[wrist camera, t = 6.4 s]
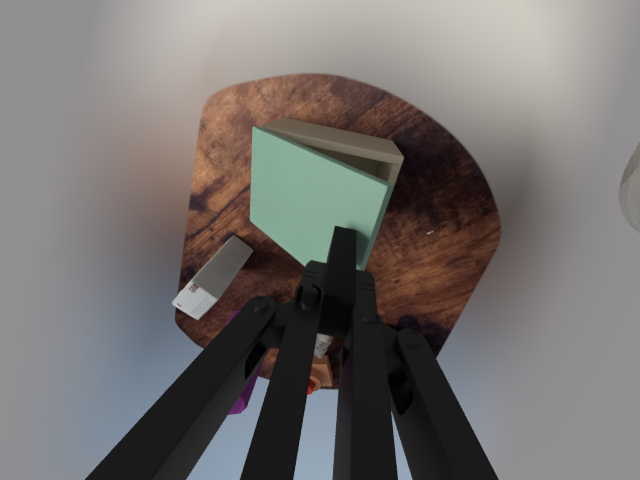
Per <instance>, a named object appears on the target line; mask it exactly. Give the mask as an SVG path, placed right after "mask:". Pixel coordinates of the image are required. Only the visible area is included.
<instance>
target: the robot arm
mask: <svg viewBox="0 0 640 480" xmlns="http://www.w3.org/2000/svg"><path fill="white" fill-rule="evenodd" d="M356 245H357V230H353V229H349V228H344V227H340V226H335V227H334V232H333V236H332V240H331V244H330V248H329V252H328V257H327V262H326V263H324V262H319V261H315V260H310V261H309V262H308V263H307V264H306V266H305V269H304V273H303V276H302V279H301V283H300V284H299V285H298V286H297V288H296V291H295V297H294V299H293V300H291V301H289V302H286V303H275V302H274V300H273V299H271V298H270V297H266V296H257V297H254V298H252V299H250V300H249V301H248V302H247V303H246V304H245V305H244V306H243V307H242V309H241V310H240V311H239V312H238V313H237V314H236V315H235V316H234V317H233V318H232V319H231V321H230V322H229V323H228V324H227V325H226V326H225V327H224V328H223V329H222V330H221V331H220V333H219V334H218V335H217V336H216V337H215V338H214V339H213V340H212V341H211V342H210V343H209V345H208V346H207V347H206V348H205V349H204V350H203V351H202V352H201V353H200V354H199V355H198V357H197V358H196V359H195V360H194V361H193V362H192V363H191V364H190V365H189V366H188V368H187V369H186V370H185V371H184V372H183V373H182V374H181V375H180V376H179V377H178V379H177V380H176V381H175V382H174V383H173V384H172V385H171V386H170V387H169V388H168V389H167V391H166V392H165V393H164V394H163V395H162V396H161V397H160V398H159V399H158V400H157V402H156V403H155V404H154V405H153V406H152V407H151V408H150V409H149V410H148V411H147V412H146V413H145V414H144V416H143V417H142V418H141V419H140V420H139V421H138V422H137V423H136V424H135V425H134V427H133V428H132V429H131V430H130V431H129V432H128V433H127V434H126V435H125V436H124V437H123V439H122V440H121V441H120V442H119V443H118V444H117V445H116V446H115V447H114V448H113V449H112V450H111V452H110V453H109V454H108V455H107V456H106V457H105V458H104V459H103V460H102V461H101V462H100V464H99V465H98V466H97V467H96V468H95V469H94V470H93V471H92V472H91V473H90V475H89V476H88V477H87V478H86V479H85V480H186V479H187V477H188V476H189V474H190V473H191V471H192V469H193V468H194V466H195V465H196V463H197V462H198V460H199V459H200V457H201V455H202V454H203V452H204V451H205V449H206V448H207V446H208V445H209V443H210V442H211V440H212V438H213V437H214V435H215V434H216V432H217V431H218V429H219V428H220V426H221V425H222V423H223V421H224V420H225V418H226V417H227V415H228V414H229V412H230V411H231V409H232V407H233V406H234V404H235V403H236V401H237V400H238V398H239V397H240V395H241V394H242V392H243V390H244V389H245V387H246V386H247V384H248V383H249V381H250V380H251V378H252V377H253V375H254V373H255V372H256V370H257V369H258V367H259V366H260V364H261V363H262V361H263V359H264V358H265V356H266V355H267V353H268V352H269V350H270V348H274V347H280V349H279V352H278V355H277V359H276V362H275V365H274V368H273V372H272V375H271V378H270V382H269V385H268V388H267V392H266V395H265V398H264V402H263V405H262V408H261V411H260V415H259V418H258V421H257V425H256V428H255V431H254V435H253V438H252V441H251V445H250V448H249V451H248V454H247V458H246V461H245V464H244V468H243V471H242V474H241V478H240V480H293V477H294V471H295V465H296V459H297V453H298V447H299V440H300V435H301V429H302V423H303V416H304V411H305V405H306V399H307V393H308V387H309V381H310V375H311V369H312V363H313V357H314V351H315V344H316V338H317V333H318V334H322V335H327V336H331V337H335V338H340V339H343V336H344V343H343V345H342V348H341V351H340V353H339V357H338V358H339V359H340V358H341V362H340V377H339V391H338V406H337V422H336V436H335V450H334V465H333V480H398V476H397V465H396V455H395V445H394V436H393V425H392V416H391V410H392V414H393V417H394V420H395V423H396V427H397V430H398V433H399V437H400V440H401V443H402V446H403V449H404V453H405V456H406V459H407V462H408V466H409V469H410V472H411V476H412V479H413V480H499V479H498V478H497V476H496V474H495V472H494V470H493V468H492V466H491V464H490V462H489V460H488V458H487V456H486V455H485V452H484V450H483V449H482V447H481V445H480V443H479V441H478V439H477V437H476V435H475V433H474V431H473V429H472V428H471V425H470V424H469V422H468V420H467V418H466V416H465V414H464V412H463V410H462V408H461V406H460V404H459V402H458V401H457V399H456V397H455V395H454V393H453V391H452V389H451V387H450V385H449V383H448V381H447V379H446V377H445V375H444V373H443V371H442V370H441V368H440V366H439V364H438V362H437V360H436V358H435V356H434V354H433V352H432V350H431V348H430V346H429V344H428V343H427V341H426V339H425V338H424V337H423V335H421V334H420V333H419V332H418V331H416V330H414V329H410V328H404V329H401V330H400V331H397V330H395V329H393V328H391V327H389V326H387V325H386V324H385V323H383V322H382V320H381V317H380V315H379V314H378V313H377V305H376V293H375V282H374V278H373V276H372V274H371V273H370V272H366V271H362V270H357V269H356Z"/></svg>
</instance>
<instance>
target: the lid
mask: <svg viewBox="0 0 640 480" xmlns="http://www.w3.org/2000/svg"><path fill="white" fill-rule="evenodd" d="M393 188H394V185H393V184H391V183H389V182H387V181H384V180H382V179H380V178H377V177H375V176H373V175H370V174H368V173H366V172H363V171H361V170H359V169H357V168H354V167H352V166H350V165H347V164H345V163H343V162H340V161H338V160H336V159H333V158H331V157H329V156H326V155H324V154H322V153H320V152H317V151H315V150H313V149H310V148H308V147H306V146H303V145H301V144H299V143H296V142H294V141H292V140H289V139H287V138H285V137H283V136H280V135H278V134H276V133H273V132H271V131H269V130H266V129H264V128H262V127H254V126H253V132H252V168H251V203H250V221H251V222H252V223H253V224H255V225H256V226H257V227H258V228H259V229H261V230H262V231H263V232H264V233H265V234H267V235H268V236H269V237H270V238H271V239H273V240H274V241H275V242H276V243H277V244H279V245H280V246H281V247H282V248H283V249H285V250H286V251H287V252H288V253H289V254H291V255H292V256H293V257H294V258H295V259H297V260H298V261H299V262H300V263H301V264H302V265H304V266H306V264H307V263H308V262H309V261H310V260H315V261H319V262H324V263H326V262H327V257H328V252H329V248H330V244H331V240H332V236H333V232H334V227H335V226H340V227H344V228H349V229H353V230H357V245H356V269H357V270H362V271H364V270H365V268H366V265H367V262H368V259H369V256H370V253H371V250H372V248H373V245H374V242H375V239H376V236H377V233H378V231H379V228H380V225H381V222H382V219H383V216H384V213H385V211H386V208H387V205H388V202H389V199H390V196H391V194H392V191H393Z"/></svg>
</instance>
